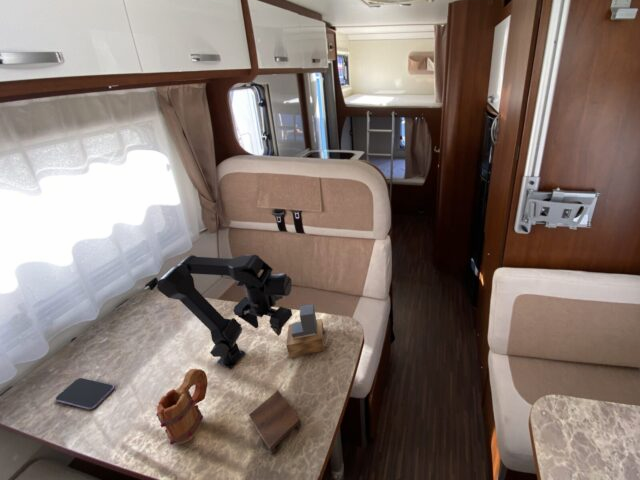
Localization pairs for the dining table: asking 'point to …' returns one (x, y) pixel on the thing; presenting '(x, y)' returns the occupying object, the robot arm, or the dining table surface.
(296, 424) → the small wooden stand
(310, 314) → the grey upright block
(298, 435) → the dining table surface
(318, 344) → the light wood block
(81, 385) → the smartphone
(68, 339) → the dining table surface
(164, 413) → the mug
